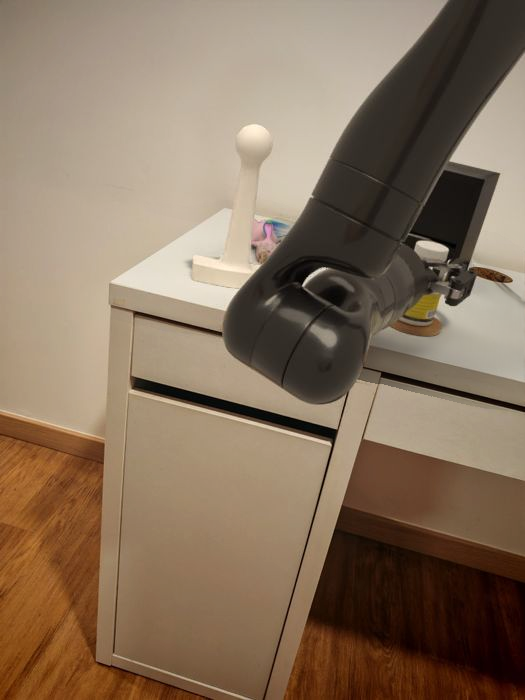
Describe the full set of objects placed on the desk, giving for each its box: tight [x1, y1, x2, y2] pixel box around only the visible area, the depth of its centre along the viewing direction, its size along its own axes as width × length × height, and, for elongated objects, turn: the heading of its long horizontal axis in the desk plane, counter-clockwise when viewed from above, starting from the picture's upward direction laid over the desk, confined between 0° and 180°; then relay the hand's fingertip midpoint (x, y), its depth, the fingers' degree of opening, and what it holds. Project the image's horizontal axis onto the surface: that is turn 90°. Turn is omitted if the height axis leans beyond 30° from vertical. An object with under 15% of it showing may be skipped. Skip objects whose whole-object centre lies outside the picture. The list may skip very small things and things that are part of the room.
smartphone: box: [258, 217, 295, 242], centre depth 103 cm, size 7×1×15 cm
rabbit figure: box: [251, 218, 279, 265], centre depth 91 cm, size 6×6×15 cm
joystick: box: [190, 123, 274, 290], centre depth 75 cm, size 11×8×20 cm
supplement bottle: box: [398, 241, 449, 326], centre depth 73 cm, size 5×5×10 cm
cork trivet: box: [390, 316, 443, 337], centre depth 76 cm, size 8×8×1 cm
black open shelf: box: [401, 160, 501, 270], centre depth 97 cm, size 13×22×17 cm, turn 60°
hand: (422, 256), depth 68 cm, fingers open, 8 cm apart
